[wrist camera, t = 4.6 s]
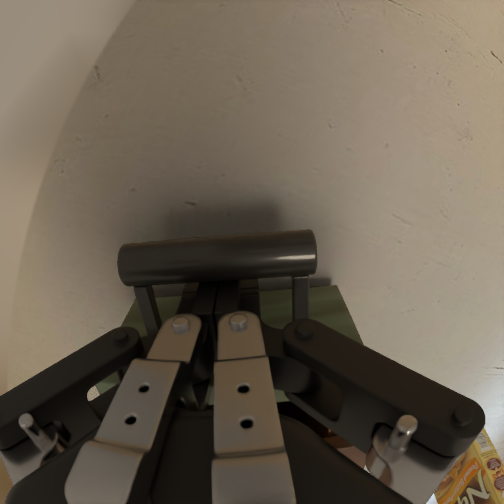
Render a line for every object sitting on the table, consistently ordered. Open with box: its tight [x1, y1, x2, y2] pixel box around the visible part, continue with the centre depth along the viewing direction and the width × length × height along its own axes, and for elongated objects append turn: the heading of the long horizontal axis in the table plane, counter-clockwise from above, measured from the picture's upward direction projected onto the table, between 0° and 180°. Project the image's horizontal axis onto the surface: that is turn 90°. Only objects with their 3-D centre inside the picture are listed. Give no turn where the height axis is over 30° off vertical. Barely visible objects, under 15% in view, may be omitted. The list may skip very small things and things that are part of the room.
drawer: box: [95, 229, 363, 438], centre depth 16 cm, size 18×11×7 cm, turn 4°
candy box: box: [434, 427, 504, 504], centre depth 21 cm, size 9×4×15 cm, turn 166°
